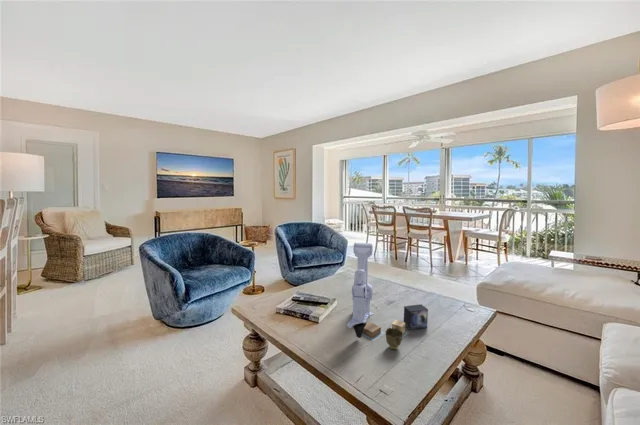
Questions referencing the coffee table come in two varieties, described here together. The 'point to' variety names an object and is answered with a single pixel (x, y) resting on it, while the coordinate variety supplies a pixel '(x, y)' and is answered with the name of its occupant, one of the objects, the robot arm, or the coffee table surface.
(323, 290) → the coffee table surface
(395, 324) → the oak block
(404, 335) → the code tile
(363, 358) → the coffee table surface
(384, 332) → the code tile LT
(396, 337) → the cup
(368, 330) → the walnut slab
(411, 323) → the small box
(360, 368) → the coffee table surface
